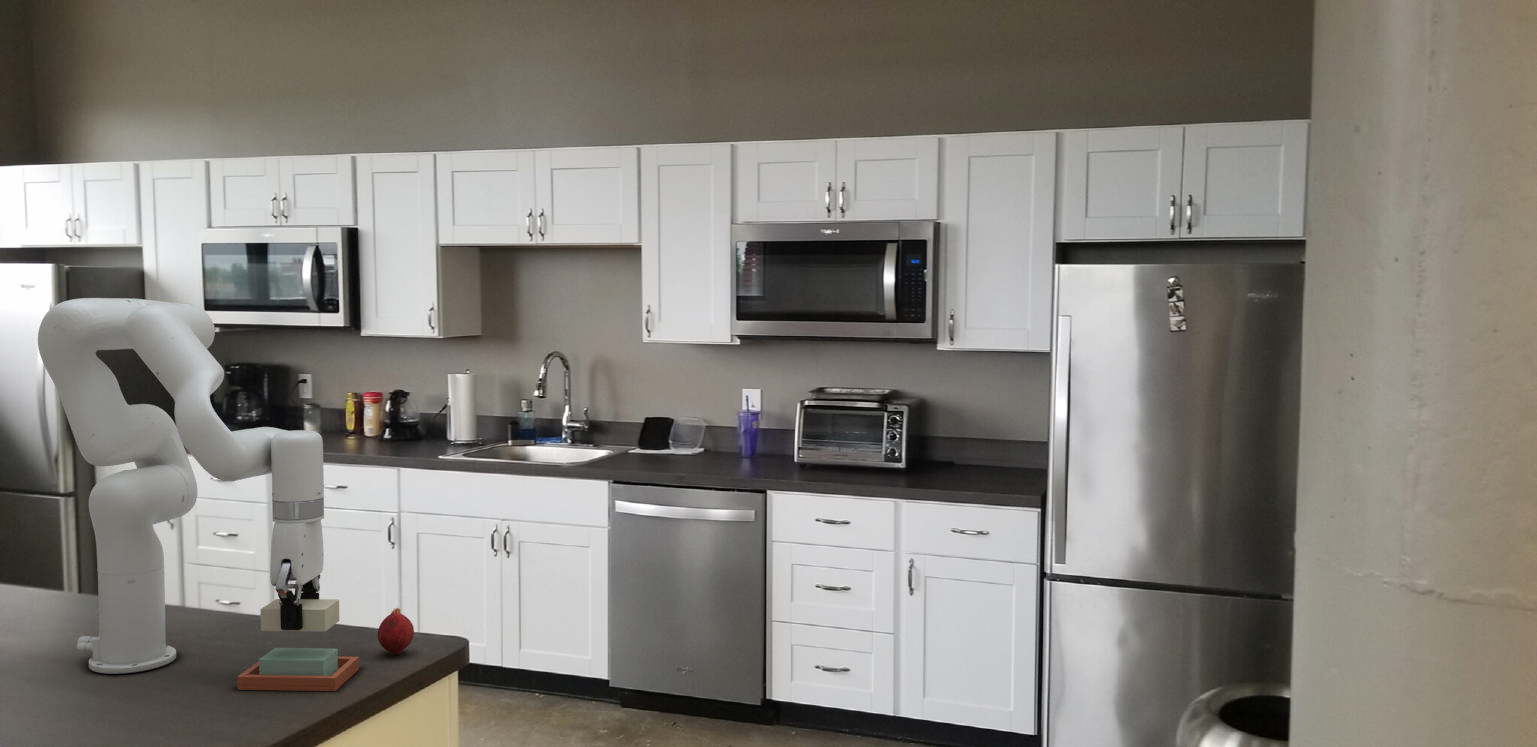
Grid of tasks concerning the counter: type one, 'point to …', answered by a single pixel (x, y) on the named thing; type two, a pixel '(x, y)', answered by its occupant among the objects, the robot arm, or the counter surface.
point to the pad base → (299, 662)
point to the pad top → (315, 615)
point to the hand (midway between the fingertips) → (300, 622)
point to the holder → (298, 678)
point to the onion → (395, 632)
